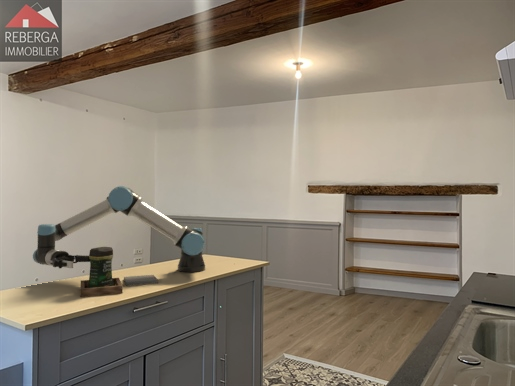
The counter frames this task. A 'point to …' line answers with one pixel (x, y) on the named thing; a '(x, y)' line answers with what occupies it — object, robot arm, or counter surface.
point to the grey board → (140, 280)
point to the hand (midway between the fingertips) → (86, 262)
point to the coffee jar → (100, 267)
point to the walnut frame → (100, 288)
